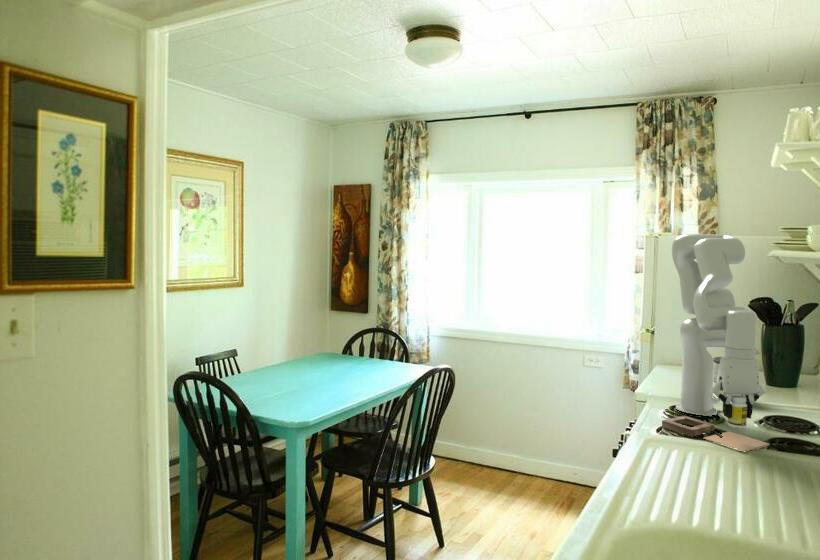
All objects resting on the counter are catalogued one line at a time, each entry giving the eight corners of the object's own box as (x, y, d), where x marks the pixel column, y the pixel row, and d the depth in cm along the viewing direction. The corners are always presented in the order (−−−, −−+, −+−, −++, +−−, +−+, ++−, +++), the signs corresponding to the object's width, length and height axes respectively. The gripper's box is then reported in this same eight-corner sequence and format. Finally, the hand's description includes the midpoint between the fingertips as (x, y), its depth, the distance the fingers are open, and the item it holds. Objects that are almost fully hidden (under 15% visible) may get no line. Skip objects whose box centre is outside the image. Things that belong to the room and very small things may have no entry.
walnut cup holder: (684, 422, 189) (684, 415, 189) (714, 431, 180) (714, 424, 180) (661, 427, 184) (662, 420, 184) (691, 437, 175) (692, 430, 175)
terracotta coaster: (729, 433, 179) (729, 431, 179) (769, 445, 168) (769, 443, 168) (703, 439, 173) (703, 437, 173) (743, 453, 163) (743, 450, 163)
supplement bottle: (744, 429, 167) (745, 399, 166) (725, 425, 170) (726, 396, 169) (748, 425, 170) (749, 396, 170) (730, 421, 174) (731, 393, 173)
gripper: (762, 351, 172) (760, 413, 174) (703, 351, 173) (700, 412, 174) (777, 356, 165) (775, 421, 166) (715, 356, 165) (713, 420, 167)
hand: (737, 416), depth 170 cm, fingers closed on supplement bottle, 4 cm apart
